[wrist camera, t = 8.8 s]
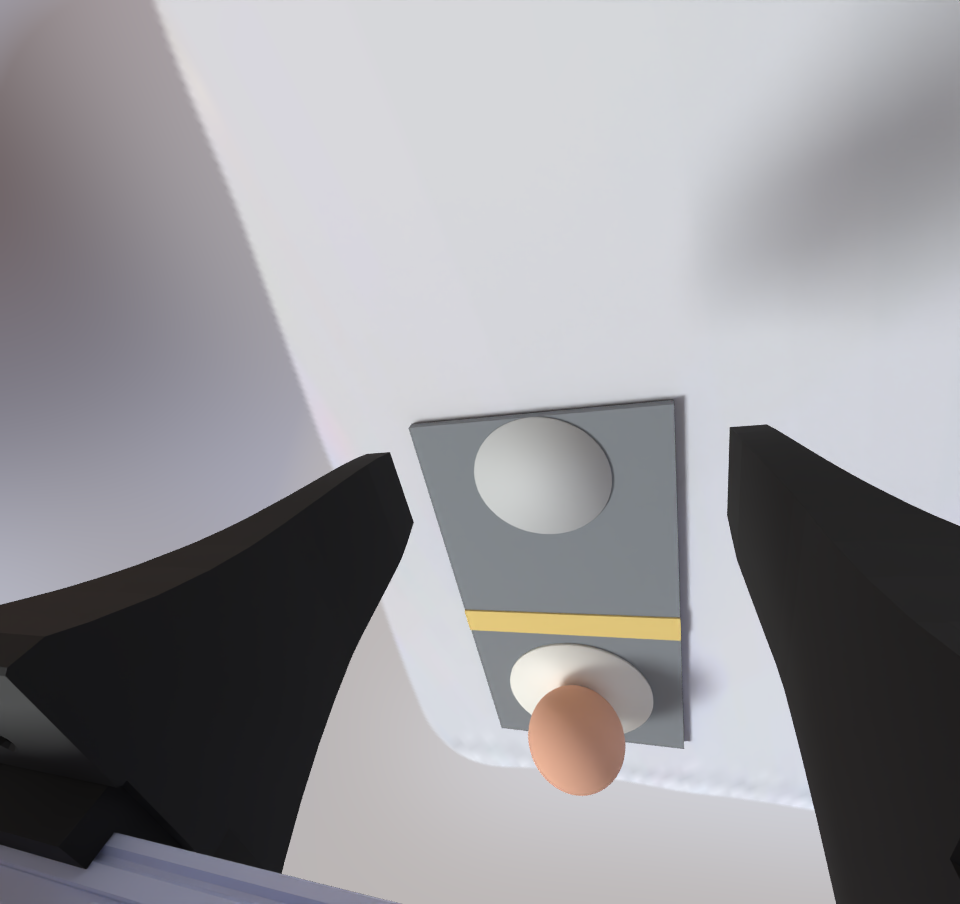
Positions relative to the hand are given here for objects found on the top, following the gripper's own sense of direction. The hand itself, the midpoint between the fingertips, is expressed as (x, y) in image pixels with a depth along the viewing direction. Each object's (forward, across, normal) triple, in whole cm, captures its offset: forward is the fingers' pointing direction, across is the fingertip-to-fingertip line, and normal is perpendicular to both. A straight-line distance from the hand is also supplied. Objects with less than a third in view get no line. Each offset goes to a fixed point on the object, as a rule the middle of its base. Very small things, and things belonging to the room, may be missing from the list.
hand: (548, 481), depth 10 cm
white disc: (+9, +2, +20) cm, 22 cm away
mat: (+9, +2, +14) cm, 17 cm away
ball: (+6, +2, +20) cm, 21 cm away
